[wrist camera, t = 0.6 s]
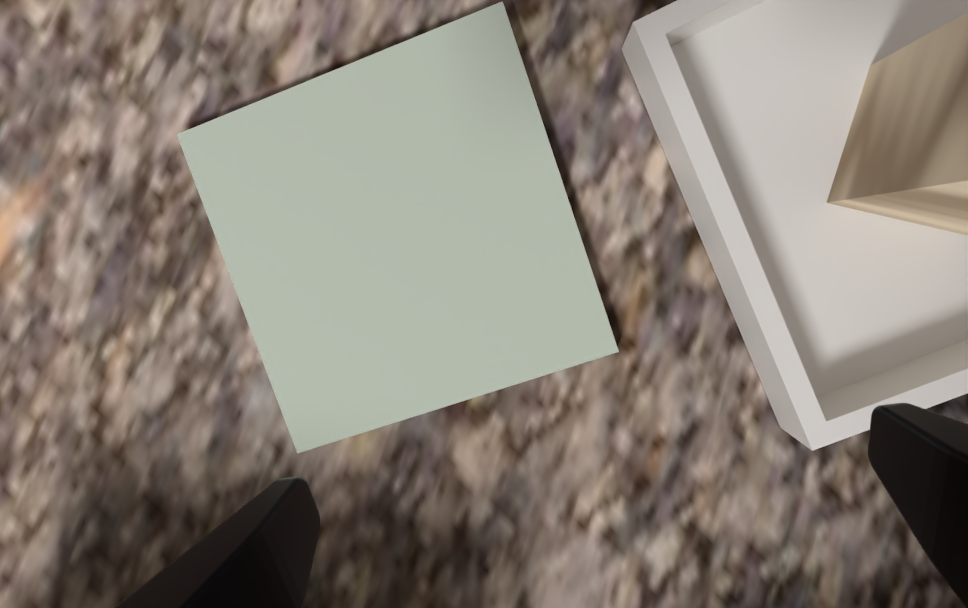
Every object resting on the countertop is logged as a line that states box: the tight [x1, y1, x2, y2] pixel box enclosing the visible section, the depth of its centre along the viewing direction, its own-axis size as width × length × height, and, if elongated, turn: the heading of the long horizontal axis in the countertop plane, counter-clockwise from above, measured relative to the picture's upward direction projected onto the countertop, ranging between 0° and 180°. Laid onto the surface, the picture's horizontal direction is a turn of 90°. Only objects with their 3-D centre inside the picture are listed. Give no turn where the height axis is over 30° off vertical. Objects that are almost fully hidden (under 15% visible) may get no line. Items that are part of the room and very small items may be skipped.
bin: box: [621, 0, 968, 451], centre depth 19 cm, size 16×16×2 cm
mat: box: [177, 1, 619, 453], centre depth 22 cm, size 14×14×1 cm
